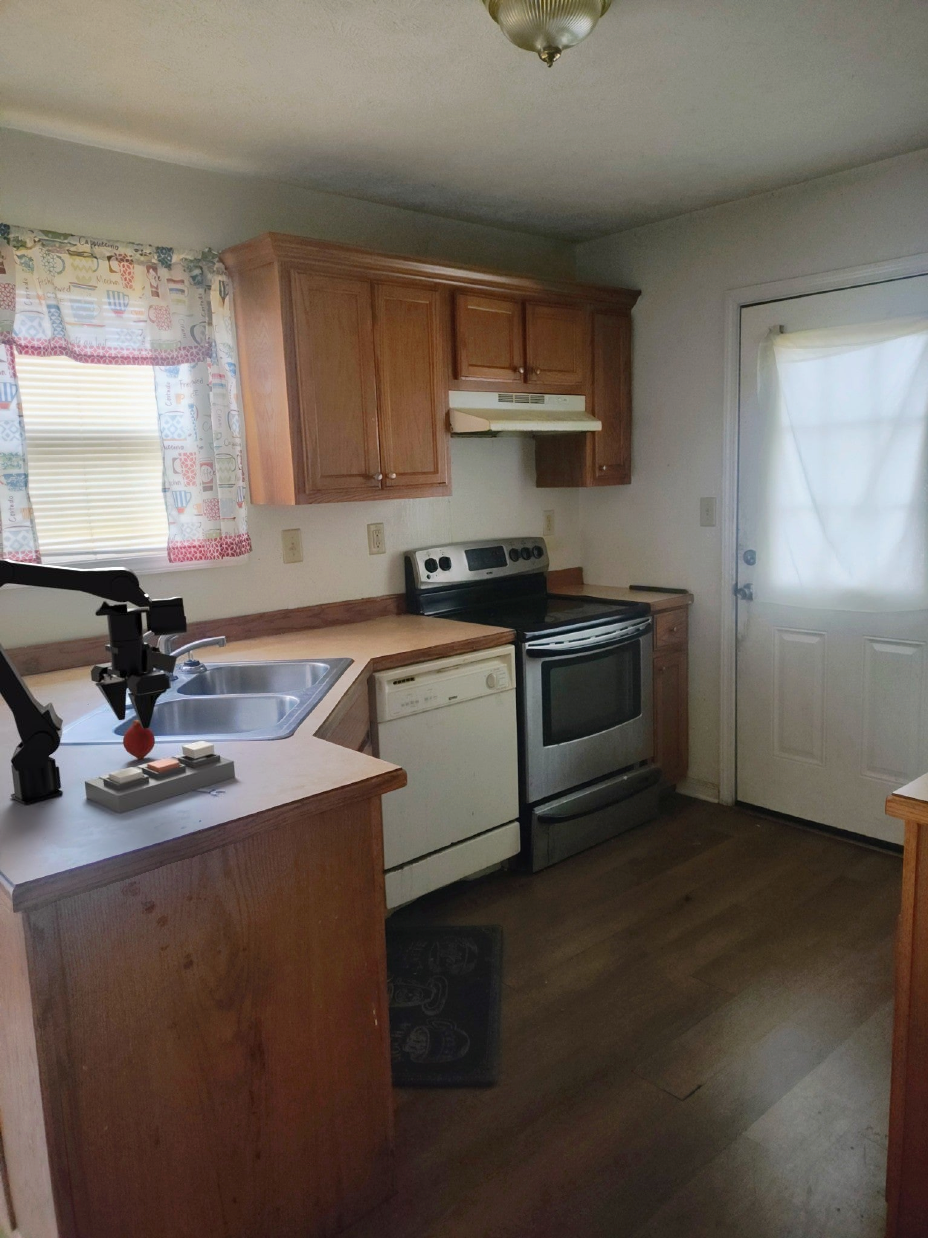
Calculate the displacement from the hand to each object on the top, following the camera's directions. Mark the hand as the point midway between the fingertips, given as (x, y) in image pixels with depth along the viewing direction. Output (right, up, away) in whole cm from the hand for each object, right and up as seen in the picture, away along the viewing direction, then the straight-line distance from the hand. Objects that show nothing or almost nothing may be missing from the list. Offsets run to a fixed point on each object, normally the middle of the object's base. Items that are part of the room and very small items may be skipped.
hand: (133, 724), depth 155 cm
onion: (-4, -9, +15) cm, 18 cm away
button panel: (+6, -11, -2) cm, 13 cm away
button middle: (+7, -8, -3) cm, 11 cm away
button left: (+2, -9, -8) cm, 12 cm away
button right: (+11, -6, +2) cm, 13 cm away
